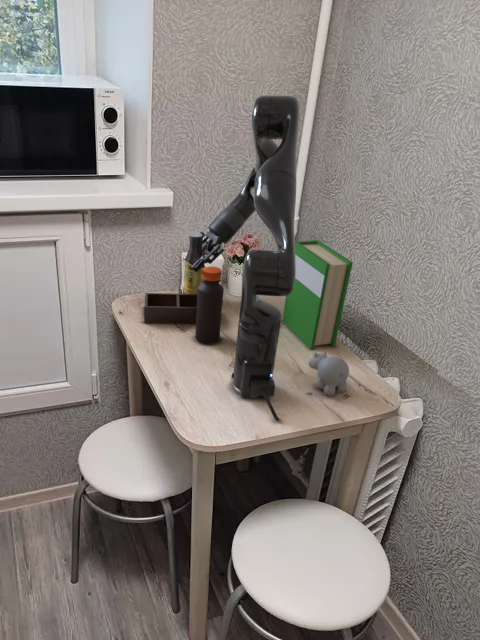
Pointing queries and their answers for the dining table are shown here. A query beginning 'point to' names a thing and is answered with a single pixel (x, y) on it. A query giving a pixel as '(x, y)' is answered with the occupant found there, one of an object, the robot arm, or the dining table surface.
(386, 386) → the dining table surface
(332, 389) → the round bodied animal figurine
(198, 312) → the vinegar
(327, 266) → the hardback book
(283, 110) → the robot arm
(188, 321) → the divided storage box
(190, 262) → the sauce bottle
